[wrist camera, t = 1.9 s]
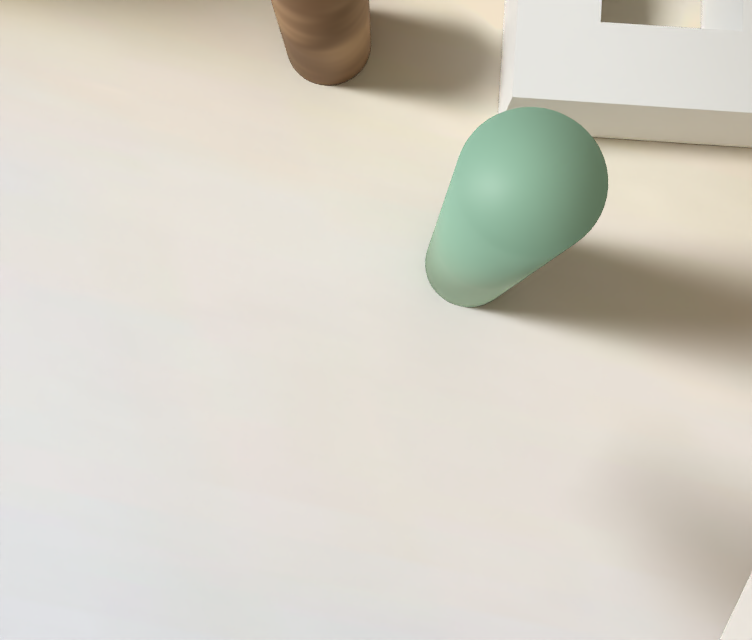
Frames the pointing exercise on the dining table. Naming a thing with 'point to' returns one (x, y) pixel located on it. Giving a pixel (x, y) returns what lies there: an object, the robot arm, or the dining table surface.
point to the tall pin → (514, 203)
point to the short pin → (325, 37)
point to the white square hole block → (632, 71)
